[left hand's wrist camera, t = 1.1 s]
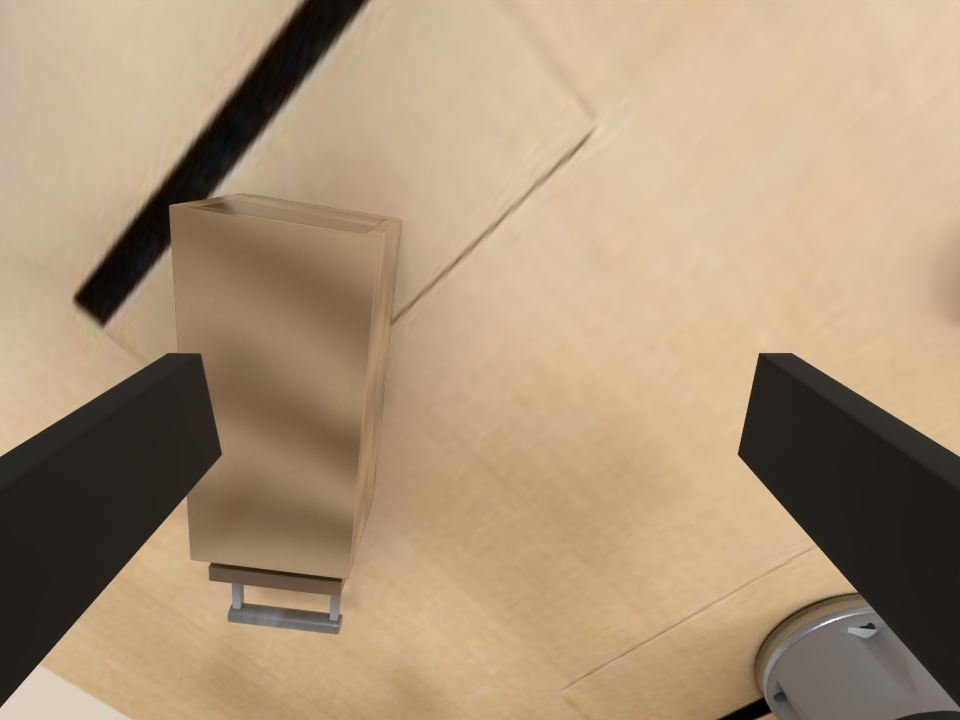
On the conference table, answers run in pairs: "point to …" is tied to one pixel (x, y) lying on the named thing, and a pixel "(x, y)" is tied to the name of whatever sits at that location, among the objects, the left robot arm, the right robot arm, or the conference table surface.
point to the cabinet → (285, 374)
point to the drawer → (280, 615)
